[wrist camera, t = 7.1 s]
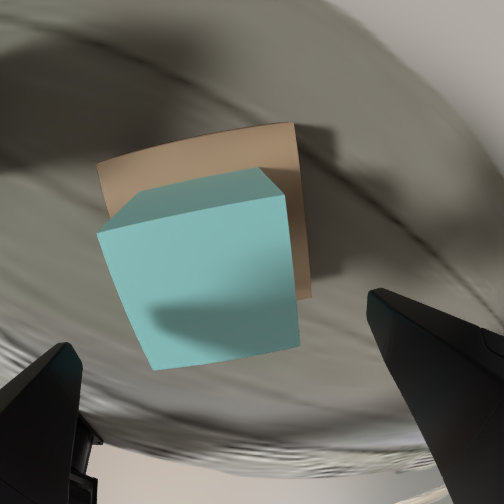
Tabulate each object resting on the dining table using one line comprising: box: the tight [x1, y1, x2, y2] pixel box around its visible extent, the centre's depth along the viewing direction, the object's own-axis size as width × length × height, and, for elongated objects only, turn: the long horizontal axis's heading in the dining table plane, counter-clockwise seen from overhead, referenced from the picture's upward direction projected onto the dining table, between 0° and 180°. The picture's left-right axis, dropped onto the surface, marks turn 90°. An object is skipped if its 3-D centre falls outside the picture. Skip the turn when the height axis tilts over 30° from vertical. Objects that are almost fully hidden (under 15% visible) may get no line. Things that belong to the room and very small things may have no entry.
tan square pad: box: [96, 122, 312, 301], centre depth 17 cm, size 10×10×3 cm
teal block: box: [97, 167, 300, 370], centre depth 13 cm, size 6×6×6 cm
